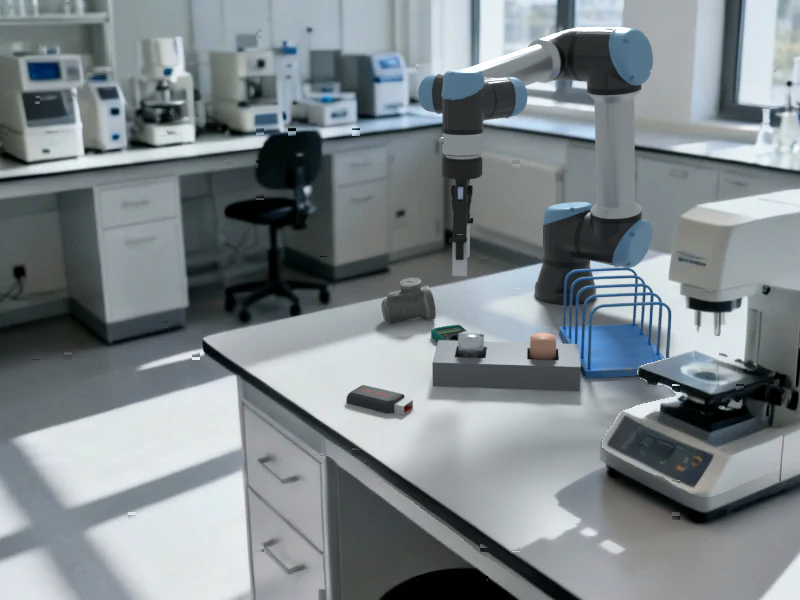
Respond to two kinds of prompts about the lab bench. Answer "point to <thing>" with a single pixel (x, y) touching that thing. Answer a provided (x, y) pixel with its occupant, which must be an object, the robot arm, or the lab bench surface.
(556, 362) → the block
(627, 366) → the file sorter
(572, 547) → the lab bench surface
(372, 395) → the usb drive
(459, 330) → the digital multimeter
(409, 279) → the pipe fitting
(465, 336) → the steel plunger
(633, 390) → the lab bench surface
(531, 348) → the peach rounded dome part
